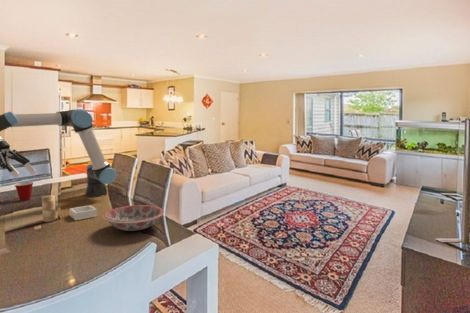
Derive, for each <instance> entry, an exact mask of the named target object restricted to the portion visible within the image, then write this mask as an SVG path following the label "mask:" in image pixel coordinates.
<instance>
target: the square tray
mask: <svg viewBox="0 0 470 313" xmlns="http://www.w3.org/2000/svg"><path fill="white" fill-rule="evenodd" d="M69 216H70V217H71V219H73V220H74V221H79V220H84V219H90V218H94V217H95V218H96V217H98V208H96V207H94V206H93V205H90V204H89V205H84V206H76V207H71V208H69Z"/></svg>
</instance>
